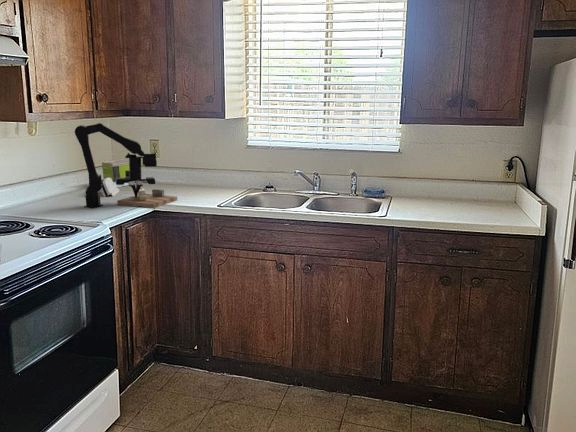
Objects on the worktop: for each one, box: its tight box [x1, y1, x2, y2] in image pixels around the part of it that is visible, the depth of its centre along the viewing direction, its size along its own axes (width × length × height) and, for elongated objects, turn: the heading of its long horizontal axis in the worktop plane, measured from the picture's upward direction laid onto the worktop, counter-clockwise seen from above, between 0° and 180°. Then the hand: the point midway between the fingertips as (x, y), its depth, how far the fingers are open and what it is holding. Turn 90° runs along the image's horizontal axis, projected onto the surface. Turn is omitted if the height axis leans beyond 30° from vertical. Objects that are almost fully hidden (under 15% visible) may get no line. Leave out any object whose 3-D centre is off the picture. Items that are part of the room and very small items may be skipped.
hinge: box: [100, 178, 120, 198], centre depth 296 cm, size 17×5×10 cm, turn 5°
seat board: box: [116, 188, 178, 209], centre depth 273 cm, size 20×22×6 cm
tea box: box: [101, 158, 129, 188], centre depth 320 cm, size 15×10×15 cm, turn 145°
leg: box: [138, 187, 147, 201], centre depth 273 cm, size 13×3×4 cm, turn 18°
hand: (135, 198), depth 270 cm, fingers closed
